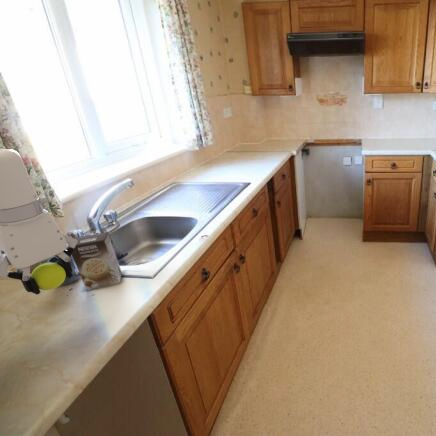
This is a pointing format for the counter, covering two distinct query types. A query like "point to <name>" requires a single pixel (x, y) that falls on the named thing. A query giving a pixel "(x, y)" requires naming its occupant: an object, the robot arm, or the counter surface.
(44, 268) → the ball
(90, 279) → the coffee box
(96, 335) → the counter surface
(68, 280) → the tumbler
